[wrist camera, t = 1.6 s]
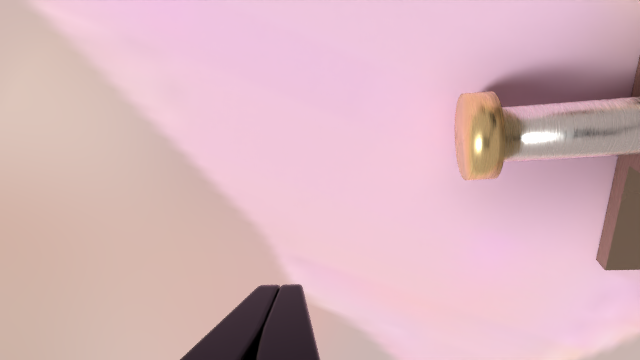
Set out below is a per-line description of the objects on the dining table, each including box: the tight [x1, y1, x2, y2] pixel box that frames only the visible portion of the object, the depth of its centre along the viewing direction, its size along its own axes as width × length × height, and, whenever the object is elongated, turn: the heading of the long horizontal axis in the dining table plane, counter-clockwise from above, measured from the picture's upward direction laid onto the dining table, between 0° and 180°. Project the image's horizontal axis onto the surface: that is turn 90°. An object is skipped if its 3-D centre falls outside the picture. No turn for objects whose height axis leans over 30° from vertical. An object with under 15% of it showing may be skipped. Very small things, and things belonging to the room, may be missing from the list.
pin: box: [455, 91, 640, 180], centre depth 14 cm, size 12×3×3 cm, turn 96°
